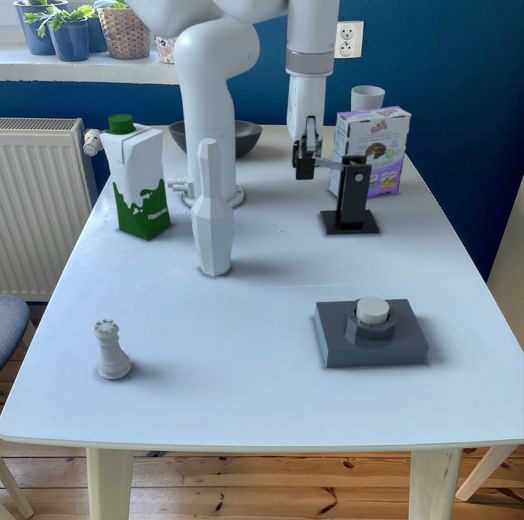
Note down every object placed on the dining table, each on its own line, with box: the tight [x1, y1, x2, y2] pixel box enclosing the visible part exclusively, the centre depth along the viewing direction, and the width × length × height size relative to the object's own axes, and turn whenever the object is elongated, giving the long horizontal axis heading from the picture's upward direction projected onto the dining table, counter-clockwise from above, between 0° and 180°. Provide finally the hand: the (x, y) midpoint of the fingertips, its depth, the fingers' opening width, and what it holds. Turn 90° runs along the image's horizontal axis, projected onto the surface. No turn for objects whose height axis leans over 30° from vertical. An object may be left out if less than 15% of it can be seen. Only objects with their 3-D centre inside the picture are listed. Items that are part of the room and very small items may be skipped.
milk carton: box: [98, 113, 172, 241], centre depth 96 cm, size 9×9×20 cm
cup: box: [350, 85, 386, 112], centre depth 133 cm, size 8×8×12 cm
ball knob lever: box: [295, 150, 363, 173], centre depth 96 cm, size 13×3×3 cm, turn 95°
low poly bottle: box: [190, 138, 235, 277], centre depth 85 cm, size 6×6×22 cm
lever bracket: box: [319, 155, 380, 236], centre depth 100 cm, size 10×8×13 cm
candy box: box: [328, 105, 413, 199], centre depth 110 cm, size 14×6×16 cm, turn 108°
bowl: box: [167, 119, 264, 160], centre depth 128 cm, size 12×22×6 cm, turn 88°
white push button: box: [356, 295, 389, 325], centre depth 76 cm, size 4×4×2 cm
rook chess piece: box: [92, 317, 132, 381], centre depth 71 cm, size 4×4×8 cm
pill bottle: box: [315, 135, 324, 167], centre depth 124 cm, size 5×5×8 cm
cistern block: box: [313, 297, 430, 369], centre depth 78 cm, size 14×11×5 cm
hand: (302, 172), depth 97 cm, fingers open, 4 cm apart
